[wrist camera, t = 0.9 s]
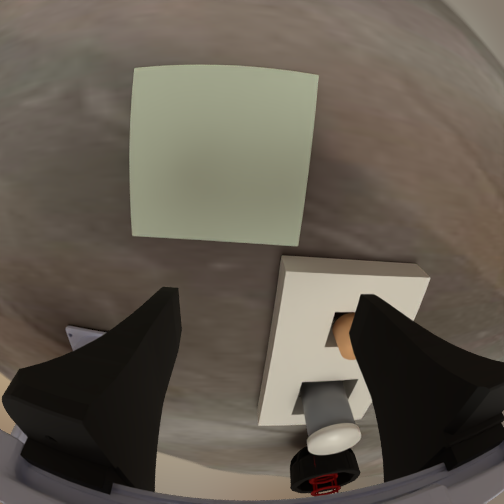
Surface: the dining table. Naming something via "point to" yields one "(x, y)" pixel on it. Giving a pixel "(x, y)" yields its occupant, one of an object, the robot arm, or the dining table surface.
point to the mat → (220, 152)
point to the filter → (322, 471)
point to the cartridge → (328, 417)
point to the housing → (325, 328)
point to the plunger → (344, 335)
